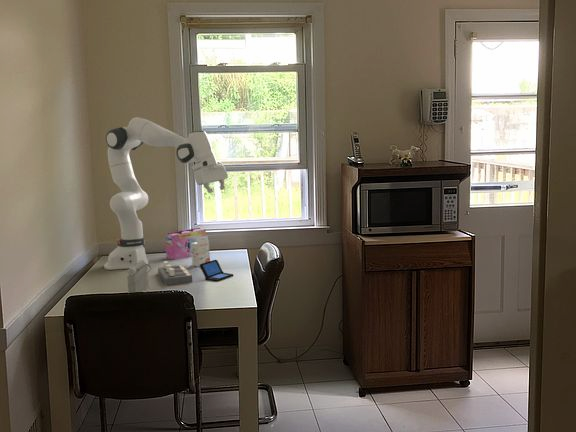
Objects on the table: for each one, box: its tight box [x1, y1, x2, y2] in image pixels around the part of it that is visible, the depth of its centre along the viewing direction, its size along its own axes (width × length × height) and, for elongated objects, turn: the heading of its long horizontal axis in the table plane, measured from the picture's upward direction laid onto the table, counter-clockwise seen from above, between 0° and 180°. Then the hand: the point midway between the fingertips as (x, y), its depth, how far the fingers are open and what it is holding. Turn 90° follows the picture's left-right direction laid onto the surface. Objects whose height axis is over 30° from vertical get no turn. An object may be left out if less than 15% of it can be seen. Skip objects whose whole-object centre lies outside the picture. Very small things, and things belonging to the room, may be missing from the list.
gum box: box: [164, 227, 207, 260], centre depth 331 cm, size 24×8×14 cm, turn 135°
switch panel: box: [157, 264, 193, 286], centre depth 282 cm, size 12×24×3 cm, turn 20°
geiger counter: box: [126, 260, 152, 293], centre depth 250 cm, size 14×6×25 cm
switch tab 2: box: [169, 268, 175, 276], centre depth 273 cm, size 2×3×3 cm, turn 21°
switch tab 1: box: [163, 260, 170, 269], centre depth 288 cm, size 2×3×3 cm, turn 20°
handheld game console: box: [199, 259, 234, 283], centre depth 279 cm, size 12×11×7 cm
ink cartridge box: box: [191, 235, 211, 267], centre depth 307 cm, size 9×5×15 cm, turn 143°
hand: (216, 191), depth 281 cm, fingers open, 8 cm apart
